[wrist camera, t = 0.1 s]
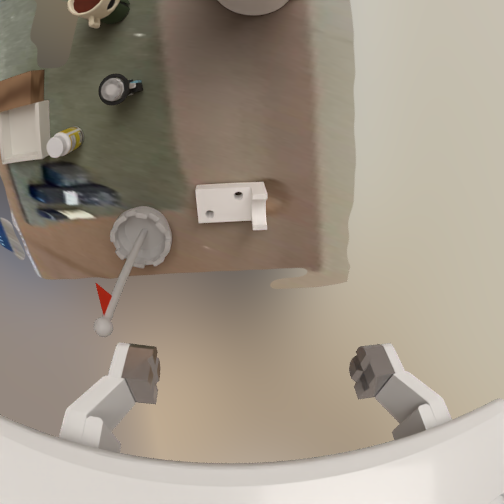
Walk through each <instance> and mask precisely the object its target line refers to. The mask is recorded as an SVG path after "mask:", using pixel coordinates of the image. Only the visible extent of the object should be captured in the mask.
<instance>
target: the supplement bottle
mask: <svg viewBox="0 0 504 504" xmlns="http://www.w3.org/2000/svg"><path fill="white" fill-rule="evenodd" d="M83 140H84V135H83V132H82V130H81V129H80V128H78V127H75V126H74V127H70V128H68V129H66V130H63V131H61V132H59V133H57V134H55V135H54V136H53V137H52V138H51V139H50V140H49V141H48V143H47V152H48V154H49V155H50V156H51V157H53V158H57V157H59V156H64V155H66V154H68V153H70V152H71V151H73V150H75V149H76V148H78V147H79V146H81V144H82V143H83Z"/></svg>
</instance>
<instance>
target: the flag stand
mask: <svg viewBox="0 0 504 504" xmlns="http://www.w3.org/2000/svg"><path fill="white" fill-rule="evenodd" d="M110 240H111V242H113V243H114V245H115V247H116V251H115V253H116V254H117V255H118V257H119V258H121V259H122V260H123V259H124V258H126V259H127V260H126V262H125V264H124V267H123V269H122V271H121V273H120V275H119V278H118V280H117V282H116V284H115V287H114V289H113V291H112V294H111V295H110V294H109V293H107V292H106V291H105V290H104V289H103V288H102V287H100V286H99V285H98V284H97V283H96V286H97V291H98V294H99V299H100V303H101V307H102V310H103V316H102V317H100V318H98V319H96V321H95V322H94V330H95V332H96V334H98V335H99V336H101V337H107V336H109V335H110V334H111V333H112V331H113V324H112V322H111V320H112V317H113V314H114V311H115V309H116V306H117V303H118V301H119V298H120V296H121V293H122V291H123V288H124V286H125V283H126V281H127V278H128V276H129V274H130V271H131V269H132V266H134V267H138V268H144V266H145V265H151V264H153V265H154V266H157V265H159V264H160V263H162V262H163V261H164V258H165V257H166V256H167V254H168V253H169V251H170V248H171V244H172V233H171V230H170V227H169V224H168V222H167V220H166V218H165V217H164V216H163V215H162V213H160V212H159V211H158V210H156V209H154V208H151V207H147V206H140V207H136V208H132V209H129V210H127V211H125V212H123V213H122V214H121V215H120V216H119V217H118V219H117V220H116V221H115V223H114V226H113V229H112V230H111V233H110Z"/></svg>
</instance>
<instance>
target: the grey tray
mask: <svg viewBox="0 0 504 504" xmlns="http://www.w3.org/2000/svg"><path fill="white" fill-rule="evenodd" d="M50 139H51V137H50V119H49V100H45V101H41V102H37V103H33V104H29V105H25V106H21V107H17V108H14V109H10V110H7V111H3V112H0V151H1V159H2V164H7V163H14V162H21V161H28V160H36V159H43V158H45V157H46V156H48V155H49V154H48V152H47V143H48V141H49V140H50Z"/></svg>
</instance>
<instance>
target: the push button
mask: <svg viewBox="0 0 504 504" xmlns="http://www.w3.org/2000/svg"><path fill="white" fill-rule="evenodd" d="M116 77H117V78H120V79H117V78H116ZM142 90H143V88H142V83H141V80H136V81H133V80H127V78H125V77H124V76H123V75H121V74H111V75H109V76H107V77H106V78H104V79H103V81H102V82H101V84H100V86H99V97H100V99H101V100H102V101H103V102H104V103H105V104H107V105H117V104H119V103H121V102H122V101H123V100H124V99H125V98H126V97H127V96H130V95H133V94H132V93H133V92H138V91H142ZM117 99H119V100H117ZM115 100H117V101H115Z"/></svg>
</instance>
